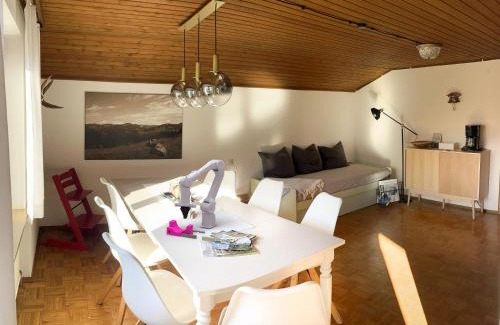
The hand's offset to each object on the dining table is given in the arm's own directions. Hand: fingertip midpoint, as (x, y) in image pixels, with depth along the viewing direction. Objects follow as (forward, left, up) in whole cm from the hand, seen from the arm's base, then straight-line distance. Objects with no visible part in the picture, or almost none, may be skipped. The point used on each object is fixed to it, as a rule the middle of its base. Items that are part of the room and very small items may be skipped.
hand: (185, 218), depth 240 cm
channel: (+3, +7, -9) cm, 12 cm away
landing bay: (+3, +23, -9) cm, 25 cm away
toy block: (+6, -1, -9) cm, 11 cm away
